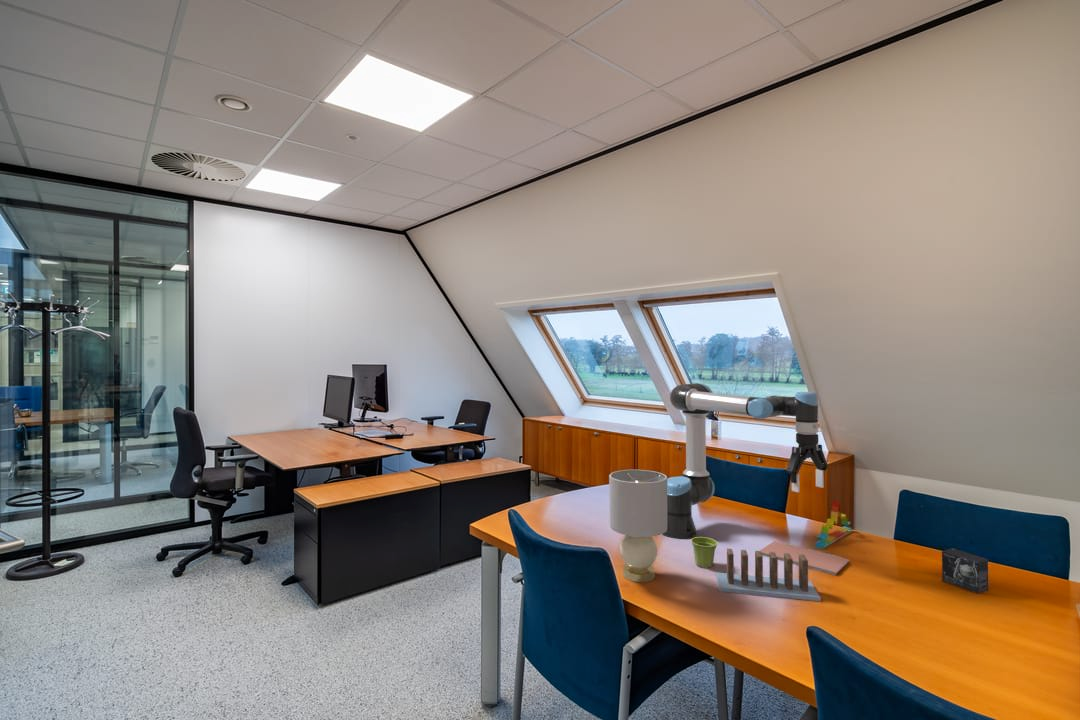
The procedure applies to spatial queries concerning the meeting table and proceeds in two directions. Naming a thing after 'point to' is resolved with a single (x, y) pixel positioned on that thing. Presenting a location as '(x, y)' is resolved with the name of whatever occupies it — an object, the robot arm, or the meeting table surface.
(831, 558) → the notebook
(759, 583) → the domino
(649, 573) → the lamp
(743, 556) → the domino
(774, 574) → the domino
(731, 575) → the domino
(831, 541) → the toy brick structure
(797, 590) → the strip board
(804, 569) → the domino
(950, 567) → the box
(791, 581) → the domino
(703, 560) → the plant pot
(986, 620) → the meeting table surface
